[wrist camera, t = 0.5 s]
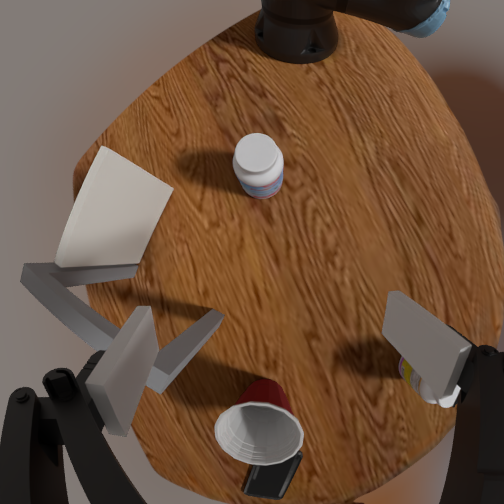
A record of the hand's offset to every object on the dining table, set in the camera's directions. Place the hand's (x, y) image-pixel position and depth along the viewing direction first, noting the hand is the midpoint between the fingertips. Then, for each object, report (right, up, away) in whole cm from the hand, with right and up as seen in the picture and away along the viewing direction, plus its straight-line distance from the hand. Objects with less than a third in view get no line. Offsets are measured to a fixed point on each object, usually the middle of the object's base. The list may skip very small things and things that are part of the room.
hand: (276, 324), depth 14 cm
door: (-17, +8, +27) cm, 33 cm away
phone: (+2, -37, +25) cm, 45 cm away
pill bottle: (0, +14, +26) cm, 30 cm away
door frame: (-13, -2, +27) cm, 30 cm away
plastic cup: (+1, -18, +25) cm, 31 cm away
